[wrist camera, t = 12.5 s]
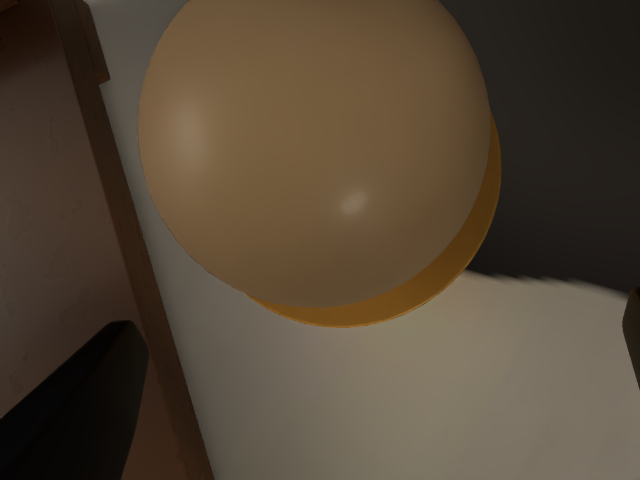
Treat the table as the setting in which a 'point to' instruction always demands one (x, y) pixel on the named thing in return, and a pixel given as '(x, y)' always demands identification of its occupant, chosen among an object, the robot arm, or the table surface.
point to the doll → (321, 151)
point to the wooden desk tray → (77, 232)
